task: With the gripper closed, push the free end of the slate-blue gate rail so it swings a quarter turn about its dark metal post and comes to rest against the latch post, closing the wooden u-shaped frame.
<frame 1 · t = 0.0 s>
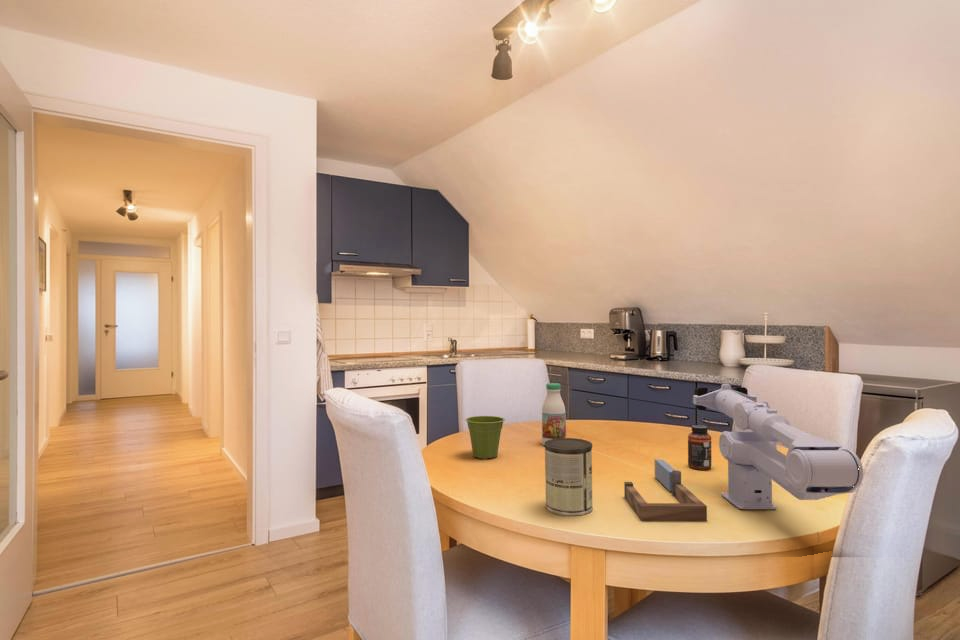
hand: (710, 392, 138), 22 cm above the table, tool horizontal, fingers open, 7 cm apart
milk bottle: (553, 445, 173), on the table
wooden u-shaped frame: (676, 495, 123), on the table
gate: (665, 474, 131), point 3 cm above the table, hinge at 0.0°
plant pot: (485, 457, 160), on the table
supplement bottle: (699, 468, 146), on the table
coffee can: (568, 508, 116), on the table
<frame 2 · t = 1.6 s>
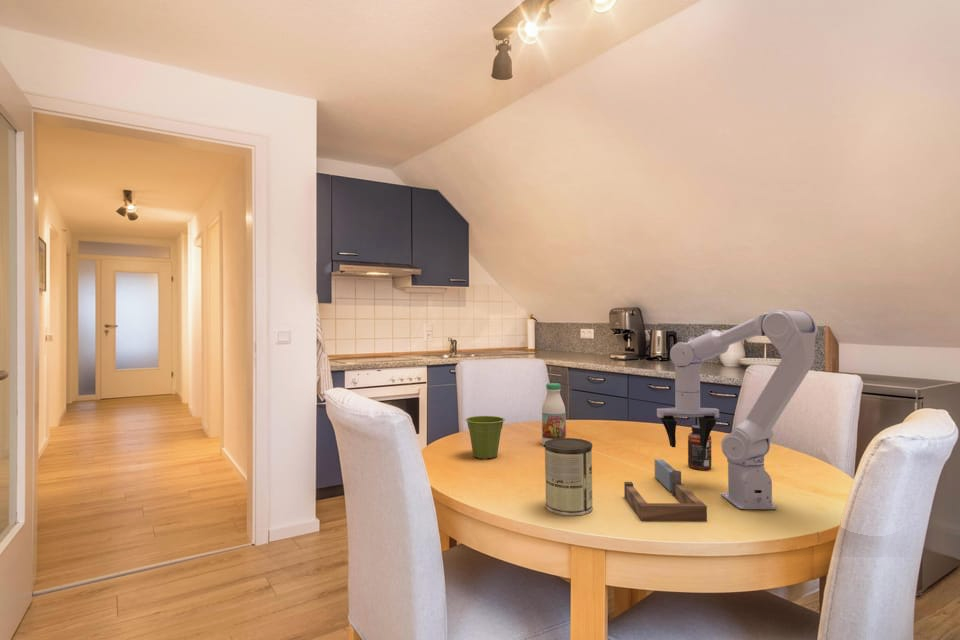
hand: (687, 446, 131), 9 cm above the table, tool pointing down, fingers open, 7 cm apart
nothing on the table moved.
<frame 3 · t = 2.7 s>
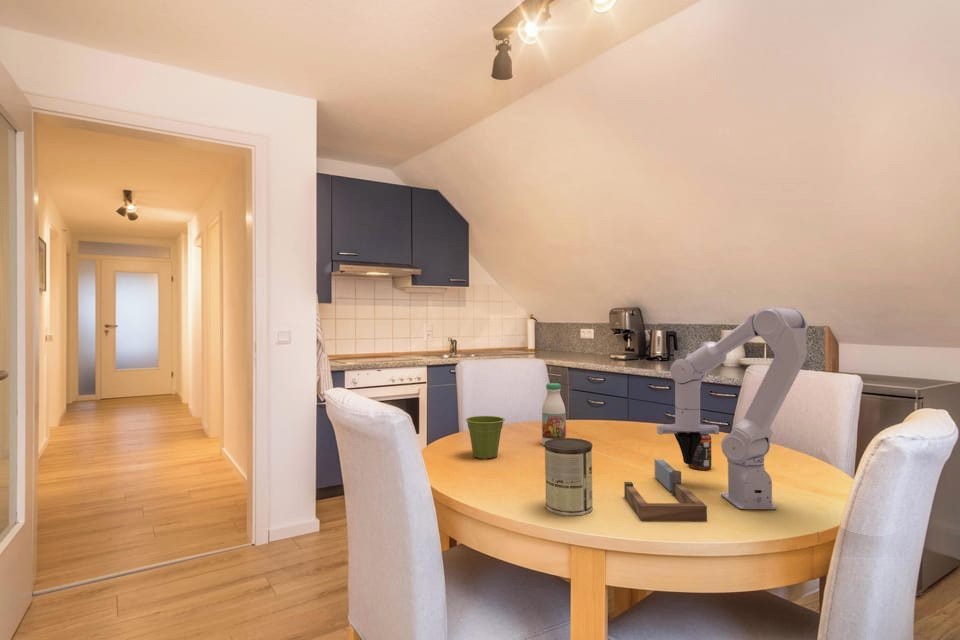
hand: (687, 463, 131), 5 cm above the table, tool pointing down, fingers closed
nothing on the table moved.
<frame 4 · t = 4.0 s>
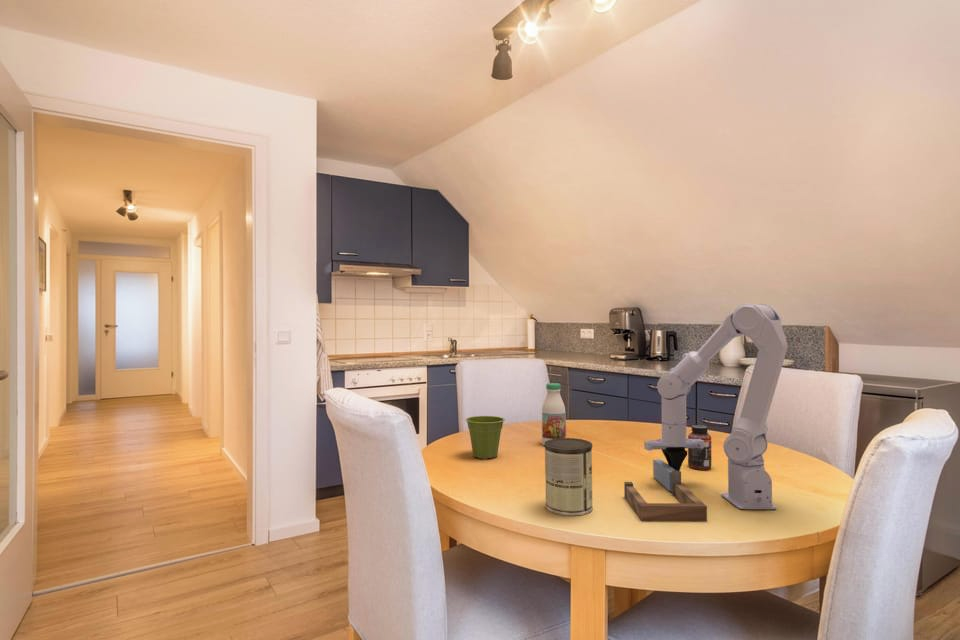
hand: (674, 478, 131), 2 cm above the table, tool pointing down, fingers closed
gate: (664, 474, 131), point 3 cm above the table, hinge at 1.6°, touching gripper
everything else where it was.
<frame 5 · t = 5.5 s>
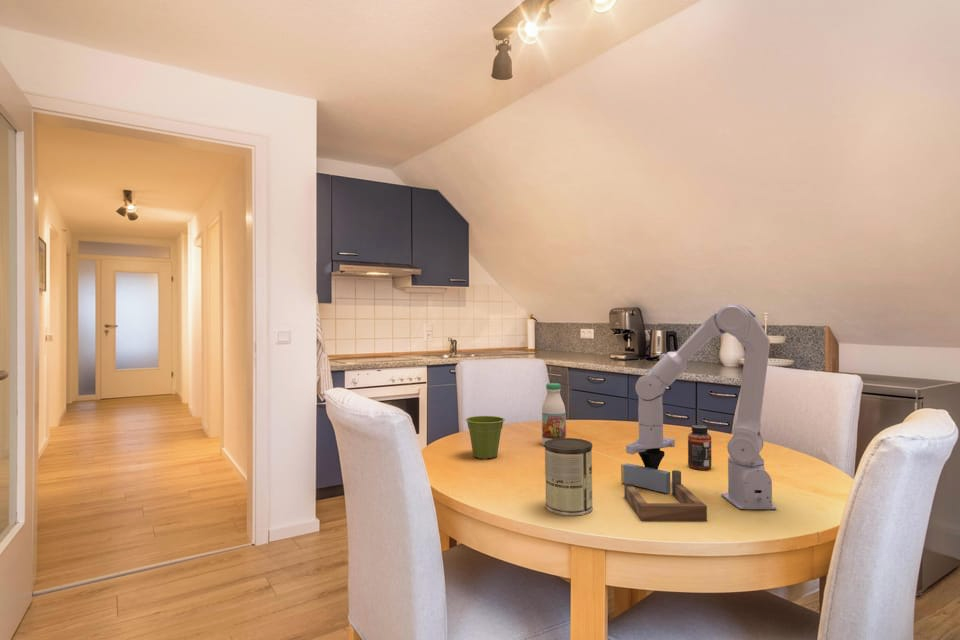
hand: (651, 479, 130), 2 cm above the table, tool pointing down, fingers closed
gate: (645, 477, 129), point 3 cm above the table, hinge at 46.8°, touching gripper
everything else where it was.
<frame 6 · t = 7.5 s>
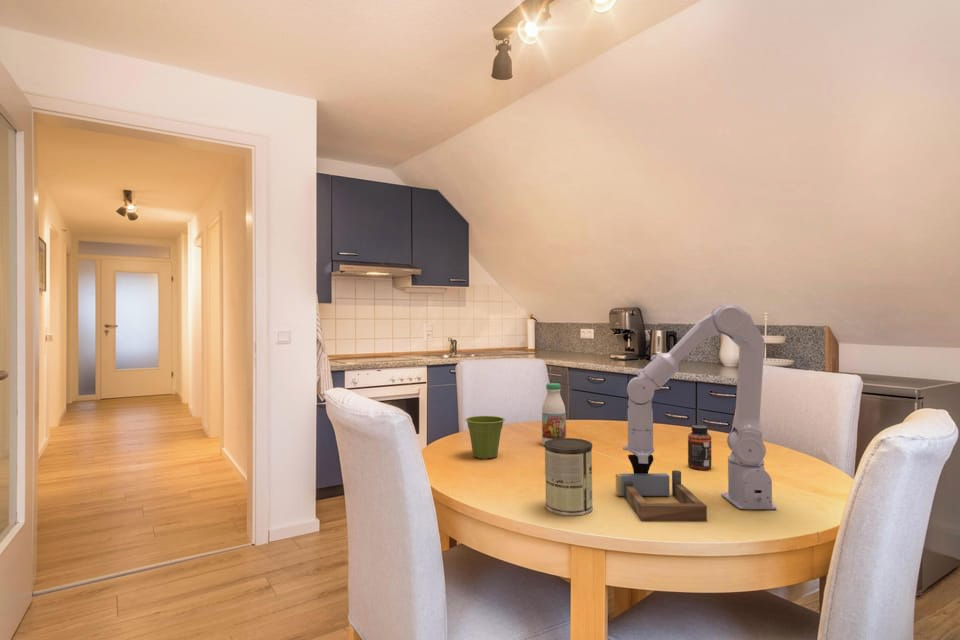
hand: (640, 486, 125), 2 cm above the table, tool pointing down, fingers closed, pressing on gate
gate: (642, 484, 123), point 3 cm above the table, hinge at 91.0°, touching gripper, wooden u-shaped frame
everything else where it was.
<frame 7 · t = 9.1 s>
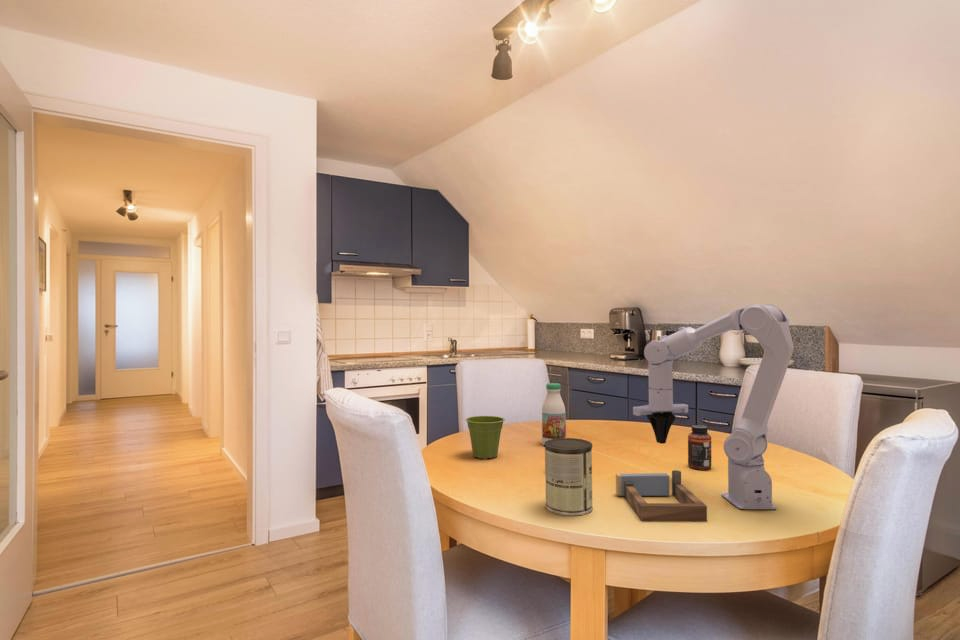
hand: (661, 442, 133), 10 cm above the table, tool pointing down, fingers closed
gate: (642, 484, 123), point 3 cm above the table, hinge at 90.9°, touching wooden u-shaped frame
everything else where it was.
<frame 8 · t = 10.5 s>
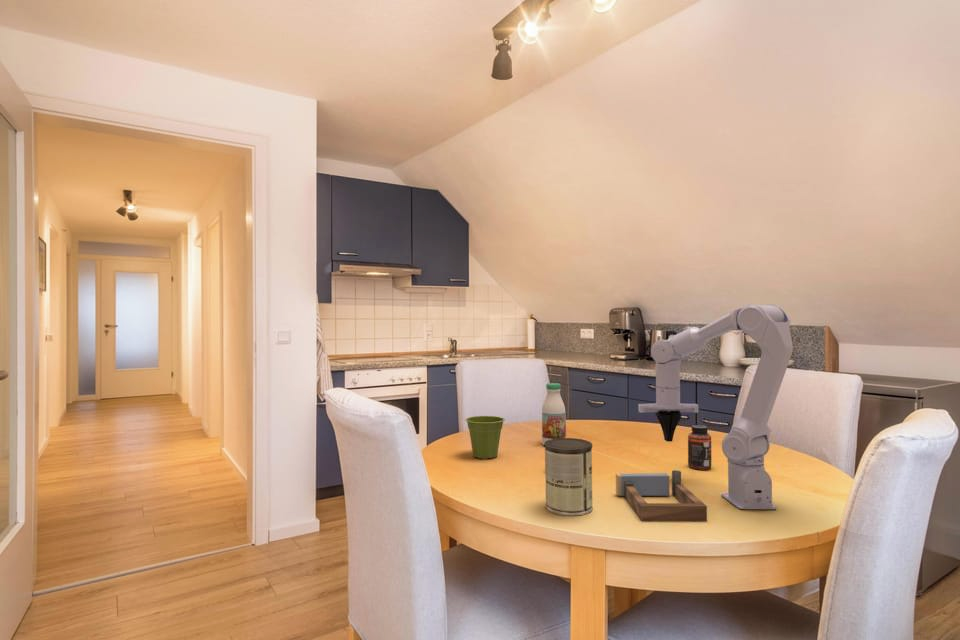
hand: (668, 440, 135), 10 cm above the table, tool pointing down, fingers closed
nothing on the table moved.
at the end: gate at +91° (first picture: +0°) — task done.
